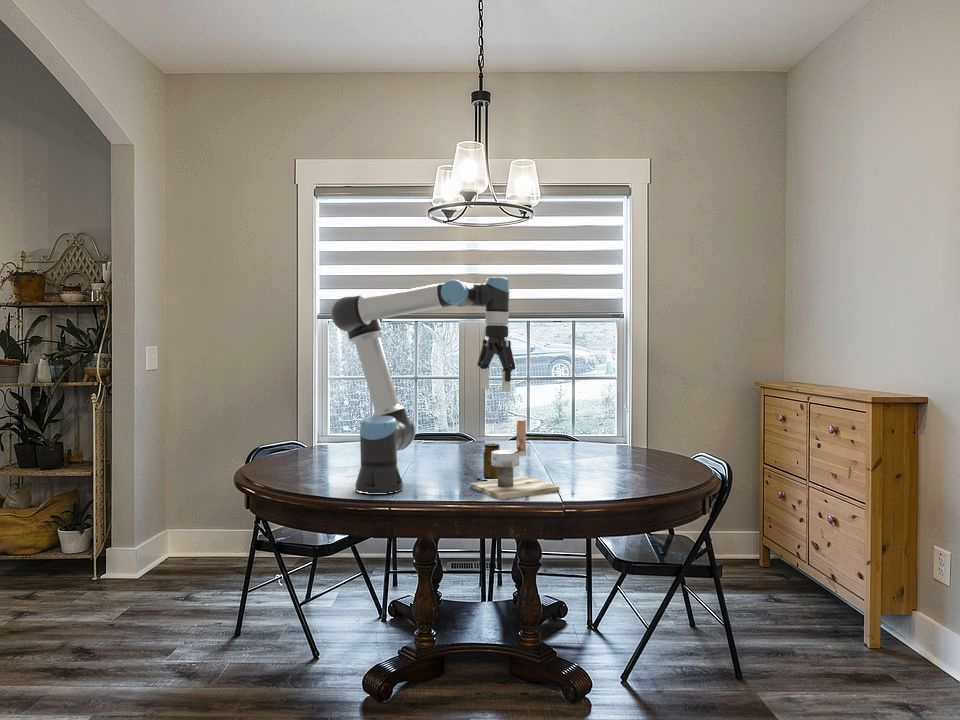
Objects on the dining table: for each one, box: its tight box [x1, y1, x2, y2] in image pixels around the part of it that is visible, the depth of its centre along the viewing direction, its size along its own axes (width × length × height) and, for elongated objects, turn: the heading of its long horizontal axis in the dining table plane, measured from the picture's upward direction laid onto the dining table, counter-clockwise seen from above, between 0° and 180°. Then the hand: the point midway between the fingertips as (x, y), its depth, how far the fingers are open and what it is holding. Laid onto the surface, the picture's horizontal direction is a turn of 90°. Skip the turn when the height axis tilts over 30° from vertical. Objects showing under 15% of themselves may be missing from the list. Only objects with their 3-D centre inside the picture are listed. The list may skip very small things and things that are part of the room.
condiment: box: [482, 443, 501, 479], centre depth 237 cm, size 7×8×12 cm
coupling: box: [491, 419, 527, 468], centre depth 220 cm, size 12×10×14 cm
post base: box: [469, 467, 560, 501], centre depth 220 cm, size 19×22×8 cm
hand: (495, 390), depth 224 cm, fingers open, 13 cm apart
